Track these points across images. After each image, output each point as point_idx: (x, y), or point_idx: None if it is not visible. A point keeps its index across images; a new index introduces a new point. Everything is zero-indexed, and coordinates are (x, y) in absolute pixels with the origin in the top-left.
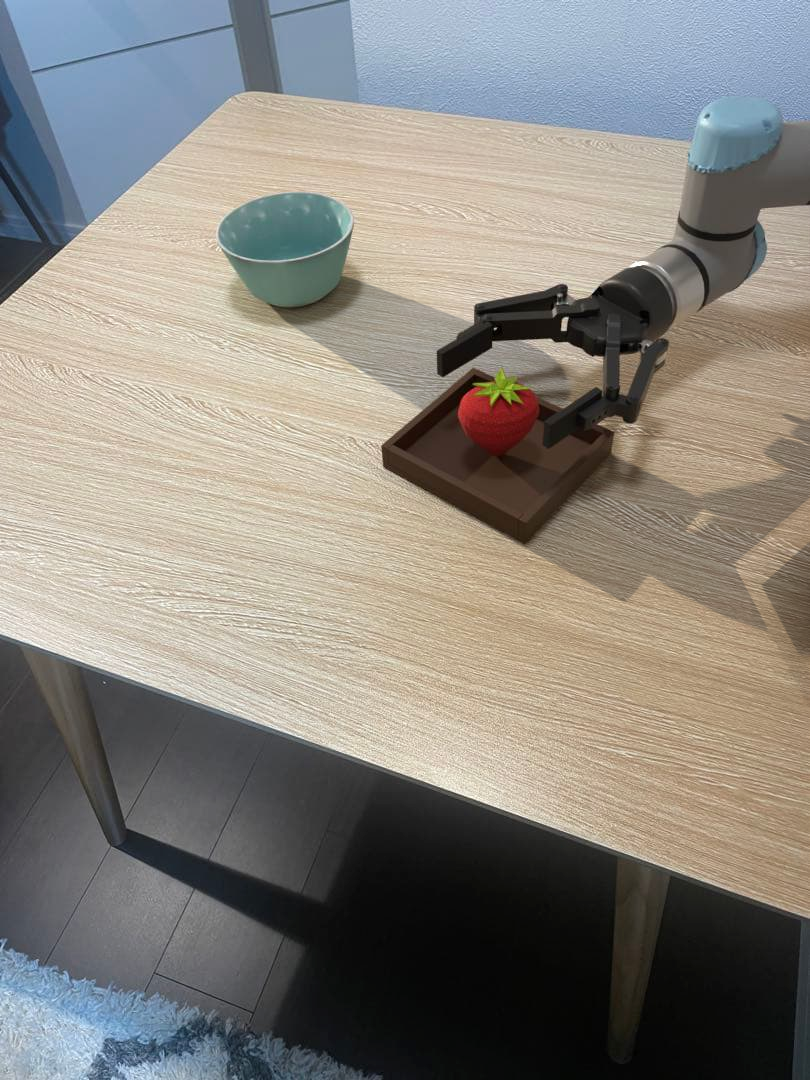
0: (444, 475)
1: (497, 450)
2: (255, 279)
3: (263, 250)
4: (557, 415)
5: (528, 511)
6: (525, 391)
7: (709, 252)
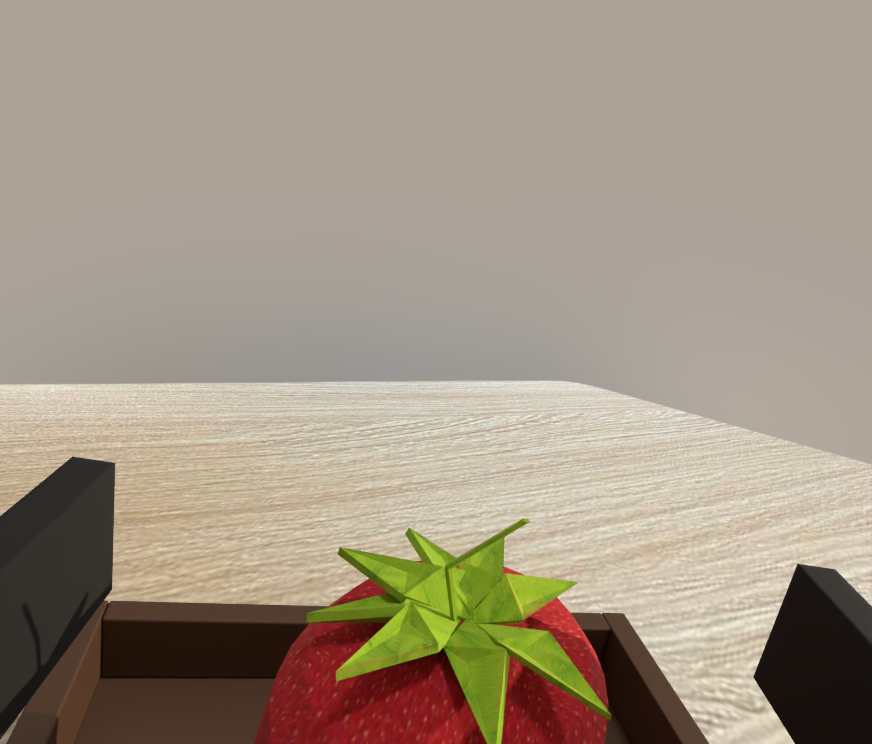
0: None
1: None
2: None
3: None
4: (60, 499)
5: (89, 629)
6: (378, 727)
7: None
